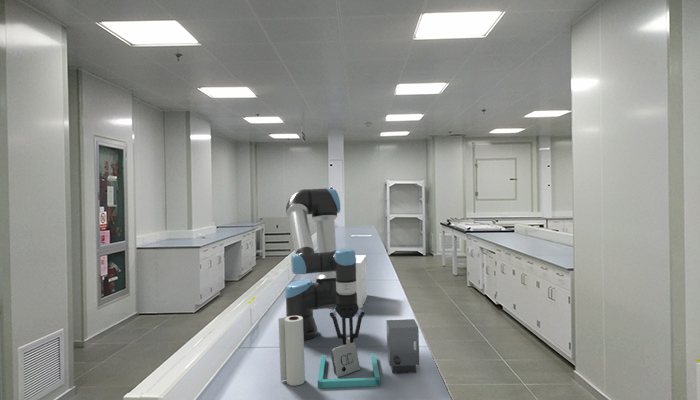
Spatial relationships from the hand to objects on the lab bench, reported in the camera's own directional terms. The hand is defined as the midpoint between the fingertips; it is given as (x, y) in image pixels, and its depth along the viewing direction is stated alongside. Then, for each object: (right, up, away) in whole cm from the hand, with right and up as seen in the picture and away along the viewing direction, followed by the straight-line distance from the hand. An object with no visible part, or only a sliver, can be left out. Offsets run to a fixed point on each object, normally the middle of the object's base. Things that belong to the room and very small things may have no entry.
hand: (348, 356), depth 141 cm
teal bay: (0, -3, -7) cm, 7 cm away
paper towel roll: (-18, -3, -12) cm, 22 cm away
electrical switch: (-1, -3, -6) cm, 7 cm away
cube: (-2, -1, +80) cm, 80 cm away
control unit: (+19, -2, -6) cm, 20 cm away
